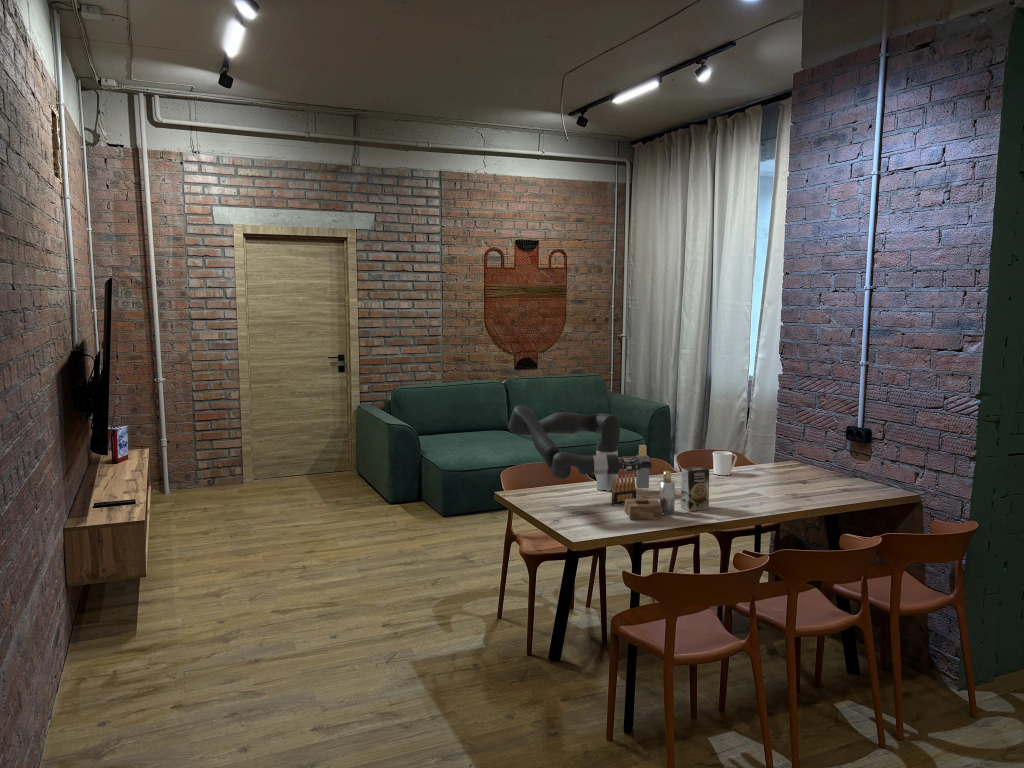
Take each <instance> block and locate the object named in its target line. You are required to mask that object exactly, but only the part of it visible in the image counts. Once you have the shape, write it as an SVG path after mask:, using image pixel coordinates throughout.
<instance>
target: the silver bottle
mask: <svg viewBox="0 0 1024 768" xmlns="http://www.w3.org/2000/svg"><path fill="white" fill-rule="evenodd" d="M662 472H663V475H662V476H663V480H660V481H659V503H660V504H661V505H662V513H664V514H663V515H673V514H672V513H674V512H676V511H675V507H676V505H675V502H676V500H675V497H676V496H675V492H676V491H675V487H676V485H675V481H674V480H672V472H671V470H663V471H662ZM674 514H675V513H674Z"/></svg>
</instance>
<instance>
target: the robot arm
mask: <svg viewBox="0 0 1024 768" xmlns="http://www.w3.org/2000/svg"><path fill="white" fill-rule="evenodd" d="M620 424H621V423H620V420H619V418H618V416H616V415H613V414H609V413H606V412H600V413H592V414H589V413H588V414H581V413H576V412H569V411H568V412H566V411H565V412H564V411H563V412H562V411H557V412H554V413H552V414H550V415H548V416H546V417H544V418H542V419H540V420H539V419H538V417H537V415H536V414H535V412H534V411H533V410H532V408H530V407H528V406H526V405H516V406H514V408H513V410H512V413H511V415H510V418H509V421H508V425H507V429H508V431H509V432H510V433H512V434H514V435H518V436H531V439H532V443H533V446H534V448H535V449H536V451H537V453H538V454H539V455H540V456H541V457H542V458H543V459H544V461H545V464H546V465H547V468H548V469H549V471H550V473H551V474H552V475H553V476H554V478H557V479H560V480H566V479H568V478H569V477H570V475H571V471H572V467H574V468H576V469H577V472H578V474H579V475H596V490H598V489H600V490H599V491H601V490H606V491H605V492H612V491H611V490H612V485H613V477H614V475H615V478H616V484H617V476H618V475H619V470H623V471H627V472H633V471H636V470H641V469H642V468H649V469H651V468H652V465H653V464H652V461H649V462H636V457H620V459H619V456H618V449H619V445H620V437H621V435H620V433H621V425H620ZM580 432H589V433H596V434H600V435H601V439H600V442H598V443H596V449H595V450H596V451H595V453H596V454H595V455H580V454H576V453H572V452H568V451H560V448H559V447H558V446H557V445H556V443H555V442H554V441H553V440H552V439H551V438H550V437H549V435H548V434H551V435H552V434H554V435H555V434H556V435H574V434H579V433H580ZM636 465H638V467H636Z"/></svg>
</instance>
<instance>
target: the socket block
mask: <svg viewBox="0 0 1024 768" xmlns="http://www.w3.org/2000/svg"><path fill="white" fill-rule="evenodd" d="M624 512H626V513H625V514H626V516H627V515H628V516H629V517H628V516H627V517H628V519H629V518H630V519H629V520H630V521H634V520H633V519H653V520H663V514H662V505H661V504H660V501H658V499H657V498H656V497H646V498H645V497H641V498H639V497H638V498H637V497H636V499H625V504H624Z"/></svg>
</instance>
